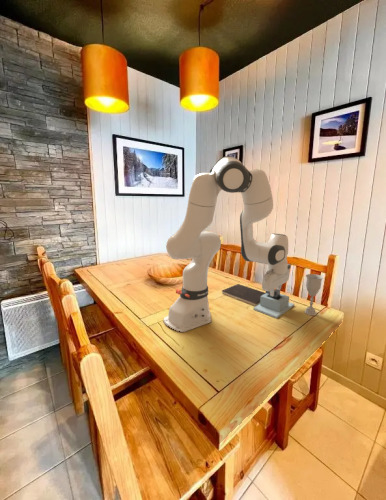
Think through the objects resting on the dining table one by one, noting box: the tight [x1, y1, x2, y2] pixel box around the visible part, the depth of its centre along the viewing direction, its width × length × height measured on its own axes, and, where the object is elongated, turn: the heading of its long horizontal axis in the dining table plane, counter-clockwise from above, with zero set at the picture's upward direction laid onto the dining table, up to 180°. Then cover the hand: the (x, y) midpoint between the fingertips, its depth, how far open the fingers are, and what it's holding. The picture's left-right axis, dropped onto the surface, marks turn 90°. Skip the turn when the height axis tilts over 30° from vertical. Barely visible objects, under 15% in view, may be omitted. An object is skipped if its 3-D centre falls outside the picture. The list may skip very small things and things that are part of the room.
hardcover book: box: [221, 283, 266, 307], centre depth 127 cm, size 16×23×2 cm
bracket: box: [265, 288, 281, 300], centre depth 112 cm, size 3×6×8 cm, turn 43°
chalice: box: [304, 273, 324, 316], centre depth 105 cm, size 7×7×18 cm
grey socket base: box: [253, 292, 295, 319], centre depth 111 cm, size 18×12×6 cm, turn 133°
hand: (274, 294), depth 111 cm, fingers open, 4 cm apart
